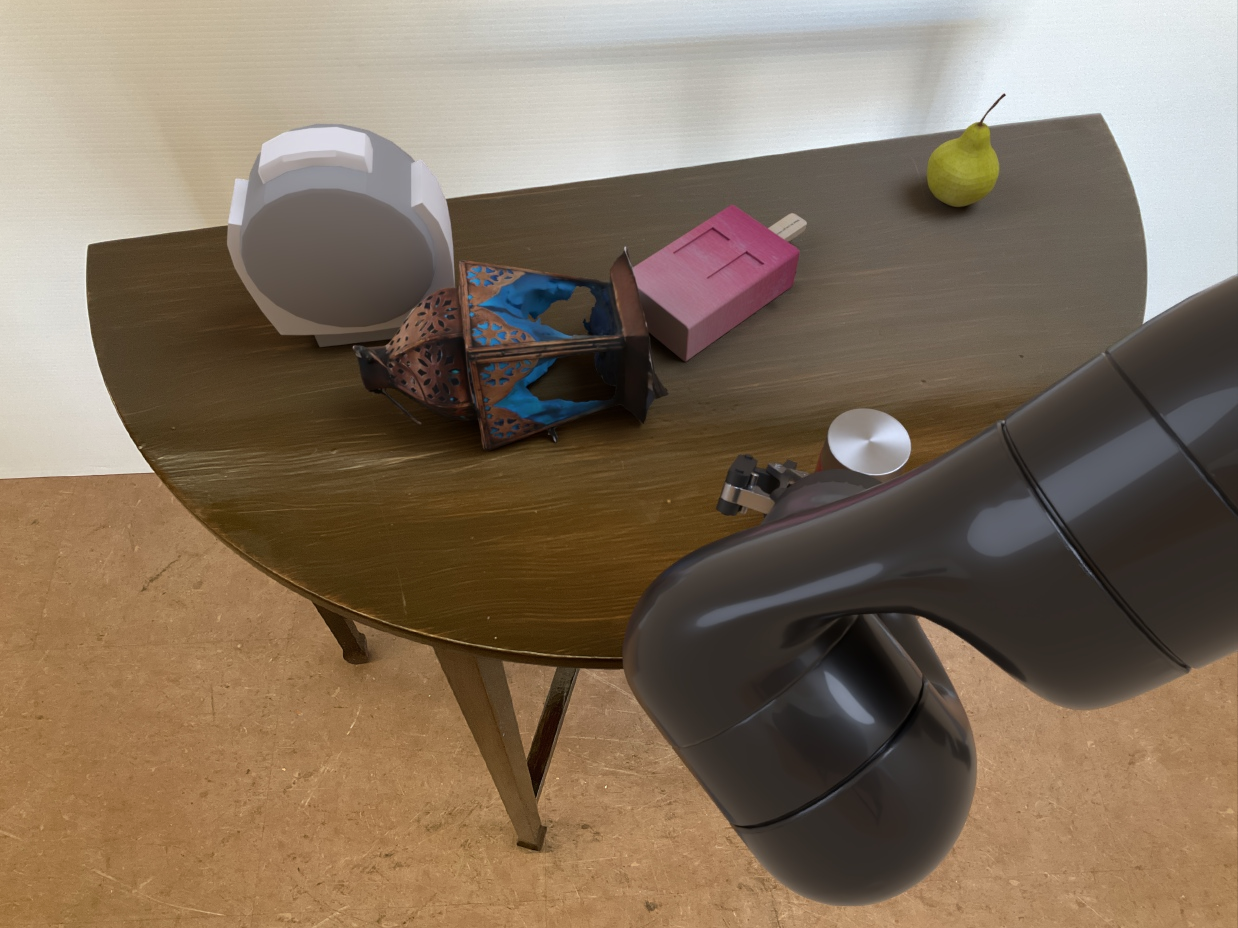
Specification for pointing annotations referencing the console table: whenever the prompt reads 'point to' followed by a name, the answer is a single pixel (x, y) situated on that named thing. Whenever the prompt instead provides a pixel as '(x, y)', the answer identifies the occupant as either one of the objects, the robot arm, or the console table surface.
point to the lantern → (514, 350)
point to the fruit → (964, 166)
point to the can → (866, 444)
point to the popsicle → (716, 278)
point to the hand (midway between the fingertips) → (850, 497)
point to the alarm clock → (339, 234)
